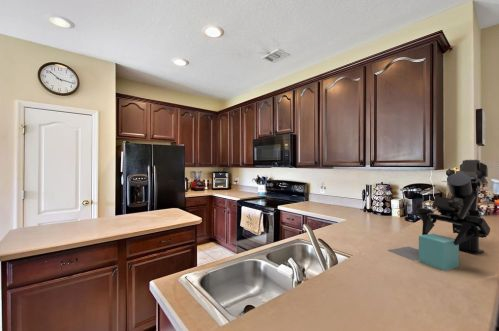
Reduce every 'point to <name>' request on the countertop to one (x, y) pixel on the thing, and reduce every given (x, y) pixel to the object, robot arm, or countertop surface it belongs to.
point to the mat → (407, 252)
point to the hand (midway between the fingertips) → (438, 239)
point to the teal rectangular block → (438, 251)
